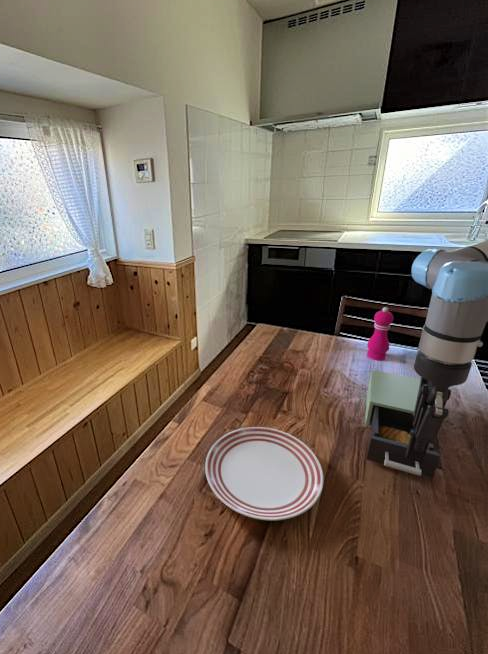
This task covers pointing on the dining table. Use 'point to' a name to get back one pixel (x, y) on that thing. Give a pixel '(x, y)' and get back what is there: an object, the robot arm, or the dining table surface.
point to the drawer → (398, 444)
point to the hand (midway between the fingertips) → (413, 458)
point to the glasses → (270, 363)
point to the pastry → (394, 434)
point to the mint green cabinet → (391, 393)
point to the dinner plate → (264, 473)
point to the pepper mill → (380, 335)
